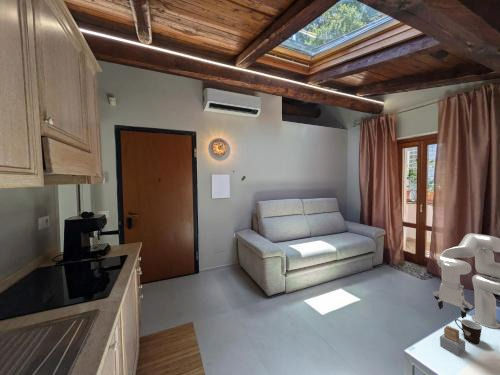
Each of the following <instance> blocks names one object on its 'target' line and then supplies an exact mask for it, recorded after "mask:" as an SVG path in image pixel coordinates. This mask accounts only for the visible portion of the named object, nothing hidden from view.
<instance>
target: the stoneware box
mask: <svg viewBox="0 0 500 375" xmlns="http://www.w3.org/2000/svg"><path fill="white" fill-rule="evenodd" d="M439 347H441V348H442V349H445V350H446V351H448V352H450V353H451V354H453V355H455V356H457V357H459V356H461V355H462V354H463V353H465V352H466V340H465V339H462V338H460V337H459V340H458V341H457V342H454V341H452V340H450V339H448V338H446V337H444V333H443V334H442V335H440V336H439Z"/></svg>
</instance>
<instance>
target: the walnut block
mask: <svg viewBox="0 0 500 375" xmlns="http://www.w3.org/2000/svg"><path fill="white" fill-rule="evenodd" d="M443 334H444V337H446V338H448V339H450V340H452V341H454V342H457V341H458V340H459V338H460V330H459V329H457V328H454V327H452V326H450V325H446V326H445V327H444V329H443Z"/></svg>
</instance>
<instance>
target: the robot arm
mask: <svg viewBox="0 0 500 375" xmlns="http://www.w3.org/2000/svg"><path fill="white" fill-rule="evenodd" d="M494 252H496V253H500V238H499V237H496V236H492V235H487V234H479V233H472V232H471V233H467V234H465V235H464V236H463V238H462V239H461V240H460V243H459V244H458V245H457V246H453V247H451V248H447V249H444V250H443V251H442V252H441V253H440V254H439V256H438V258H437V265H438V267H439V268H441V283H440V286H439V290H438V291H436V290H435V291H432V295H433V296H434V299H435V300H436V302H437V304H438V305H437V306H438V309H439V310H442V309H443V308H444V302H445V303H447V304H450V305H454V306H456V307H459V308H460V310H461V311H460V315H461V316H460V317H461V319H464V318H466V317H467V312H469V311H470V310H472V309H473V307H474V314H472V315H471V319H472V321H473V322H476V323H478V324H479V325H480V326H484V327H486V328H490V329H499V328H500V323H499V322H498V321H497V300H496V297H495V295H498V296H500V262H497V261H495V255H494ZM473 257H474V267H475V270H476V271H477V273H479V274H474V275H473V276H472V277H471V280H472V286H473V292H474V305H472V304H471V303H469V302H468V301H467V300H466V299H465V292H464V287H465V286H464V285H462V284H461V275H463V276H464V275H465V276H466V275H467V274H469V273H471V272H472V266H471V264H470V263H469V262H467V261H464V260H461V258H473ZM458 258H459V259H458ZM465 305H466V306H467V307H466V306H465Z"/></svg>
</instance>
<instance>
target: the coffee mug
mask: <svg viewBox="0 0 500 375" xmlns="http://www.w3.org/2000/svg"><path fill="white" fill-rule="evenodd" d="M457 321H458V322H460V323H461V325H459V324H458V323H457ZM454 323H455V324H456V325H457V327H458V328H459V329H460V330H461V331H462V334H463V338H464V339H463V340H464V341H465V342H468V343H470V344H472V345H480V341H481V336H482V335H481V334H482V328H483V327H482V325H481V324H479V323H477V322H475V321H474V320H471V319H470V320H469V319H464V318H462V319H461V320H460V319H458V318H455V319H454Z"/></svg>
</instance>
